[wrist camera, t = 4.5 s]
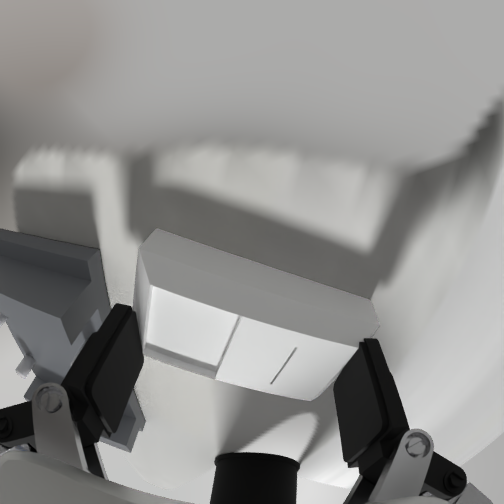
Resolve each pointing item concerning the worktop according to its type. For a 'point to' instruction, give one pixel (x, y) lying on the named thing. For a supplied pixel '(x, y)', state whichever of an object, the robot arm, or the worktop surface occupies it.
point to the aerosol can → (254, 479)
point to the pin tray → (56, 312)
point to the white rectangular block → (244, 319)
